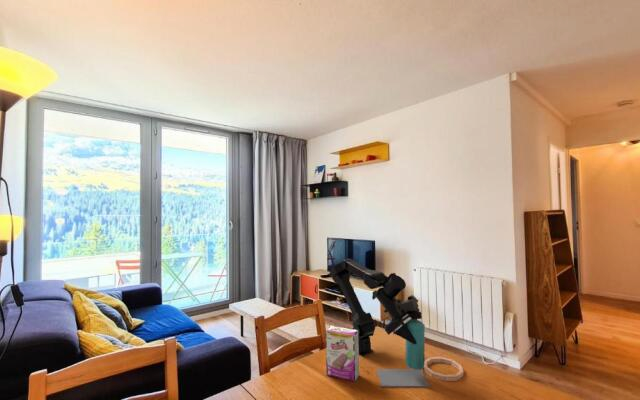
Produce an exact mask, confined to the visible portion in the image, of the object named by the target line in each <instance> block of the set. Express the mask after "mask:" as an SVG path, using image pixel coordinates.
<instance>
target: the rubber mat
mask: <svg viewBox="0 0 640 400" xmlns="http://www.w3.org/2000/svg"><path fill="white" fill-rule="evenodd" d="M376 372H377V377H378V380H379V384H380V387H381V388H430V387H431V386H430V384H429V382H428V380H427V379H426V376H425V374H424V373H423V369H421V370H416V369H412V368H409V369H408V368H407V369H406V368H405V369H403V368H401V369H400V368H395V369H394V368H392V369H391V368H388V369H387V368H386V369H385V368H383V369H382V368H381V369H380V368H379V369H378V368H377V369H376Z"/></svg>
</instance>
